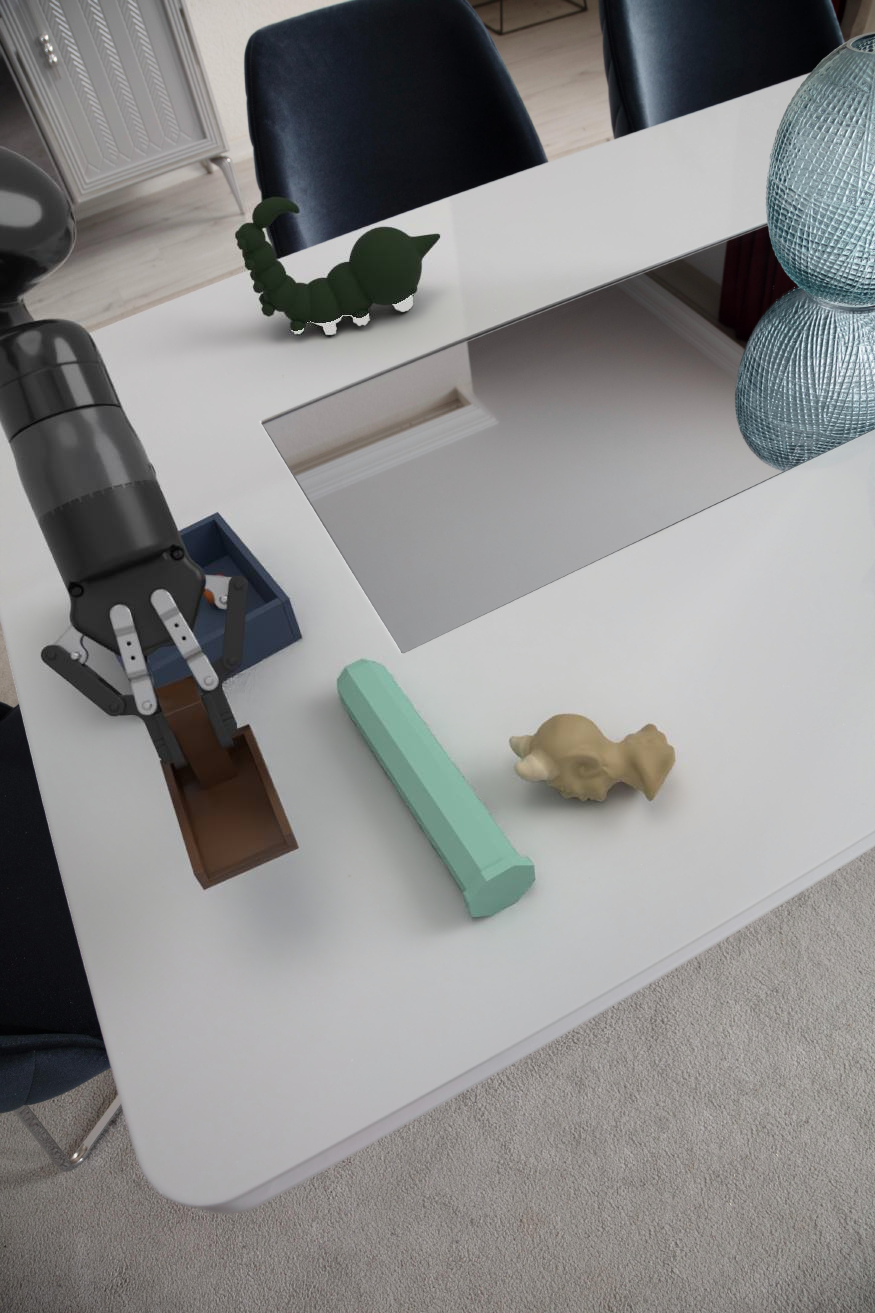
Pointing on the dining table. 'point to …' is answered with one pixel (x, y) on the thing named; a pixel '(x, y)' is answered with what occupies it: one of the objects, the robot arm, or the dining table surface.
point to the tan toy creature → (592, 758)
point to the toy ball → (210, 594)
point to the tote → (265, 610)
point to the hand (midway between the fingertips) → (205, 754)
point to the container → (435, 791)
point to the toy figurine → (333, 271)
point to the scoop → (221, 792)
